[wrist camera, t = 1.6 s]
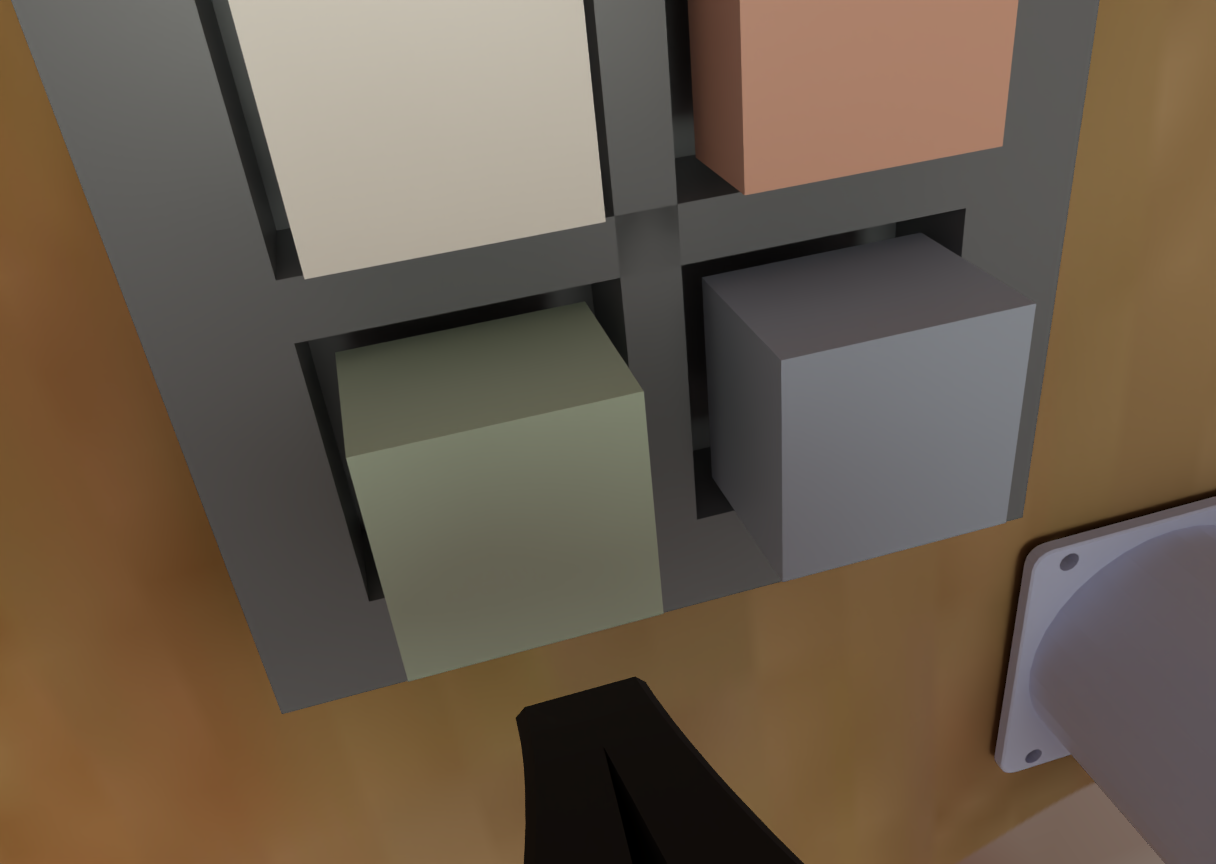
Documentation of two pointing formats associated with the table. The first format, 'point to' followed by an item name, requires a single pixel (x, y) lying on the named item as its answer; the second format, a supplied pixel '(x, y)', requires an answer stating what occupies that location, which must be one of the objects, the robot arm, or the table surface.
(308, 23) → the key cream
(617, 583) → the key sage
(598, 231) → the keypad bezel
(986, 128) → the key terracotta
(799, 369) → the key slate
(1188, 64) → the table surface
